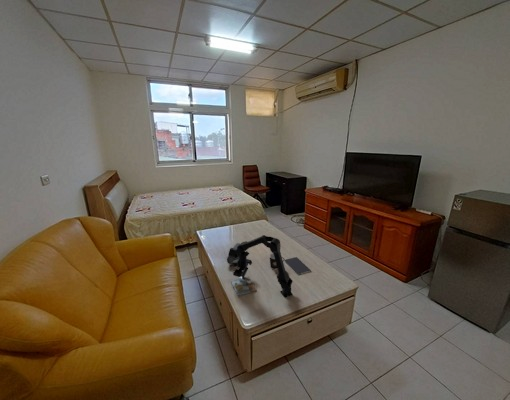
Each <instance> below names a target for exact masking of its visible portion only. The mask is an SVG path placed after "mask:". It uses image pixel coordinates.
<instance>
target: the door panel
mask: <svg viewBox="0 0 510 400" xmlns="http://www.w3.org/2000/svg"><path fill="white" fill-rule="evenodd" d="M244 277H245V276H244ZM245 278H248V279H251V278H250V277H249V276H246V277H245ZM230 284H231V286H232V288H233V290H234V292H235V294H236V296H237V298H239V297H242V296H245V295H248V294H252V293H255V292H258V289H257V288H256V286H255V285H254V283H253V281H252V280H251V285H248V284H247V283H244V282H242V281H240V280H239V278H238V279H234V280H230Z"/></svg>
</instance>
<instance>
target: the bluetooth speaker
mask: <svg viewBox="0 0 510 400" xmlns="http://www.w3.org/2000/svg"><path fill="white" fill-rule="evenodd" d="M240 244H241V243H238V242H237V243H236V244H234V246H233V247H232V248H234V249H237V247H238V246H239V245H240ZM234 260H239V257H237V258H233V257H229V256H228V255H227V257H226V262H227V263H228V265H230V266H231V263H232V262H233V261H234Z"/></svg>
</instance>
